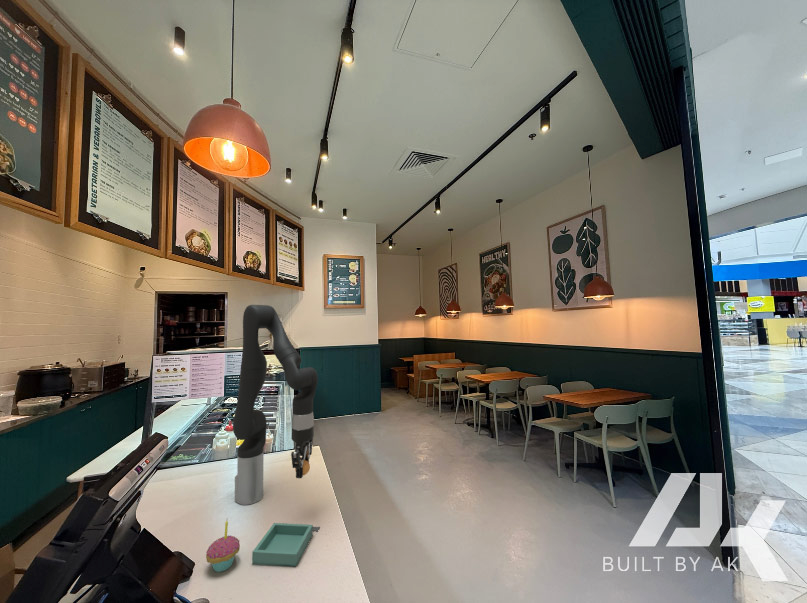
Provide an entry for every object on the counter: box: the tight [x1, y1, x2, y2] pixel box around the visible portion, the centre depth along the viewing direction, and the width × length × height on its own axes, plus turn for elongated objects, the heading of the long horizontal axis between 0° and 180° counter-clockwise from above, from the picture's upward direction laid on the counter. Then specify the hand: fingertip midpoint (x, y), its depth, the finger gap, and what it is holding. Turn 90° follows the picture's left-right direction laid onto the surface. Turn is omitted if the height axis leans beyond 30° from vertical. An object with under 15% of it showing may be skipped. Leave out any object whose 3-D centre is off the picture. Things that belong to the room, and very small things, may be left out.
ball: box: [294, 460, 311, 476], centre depth 116 cm, size 5×5×5 cm
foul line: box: [313, 526, 321, 533], centre depth 109 cm, size 15×2×1 cm, turn 85°
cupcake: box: [205, 518, 241, 573], centre depth 94 cm, size 9×8×12 cm
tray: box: [251, 522, 314, 568], centre depth 100 cm, size 13×13×4 cm
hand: (302, 473), depth 116 cm, fingers closed on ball, 5 cm apart
